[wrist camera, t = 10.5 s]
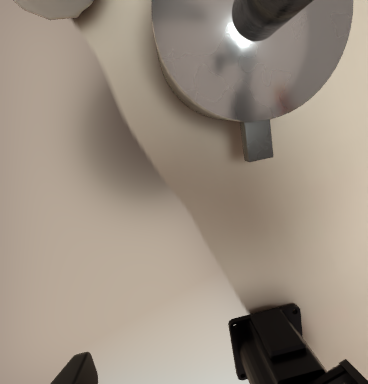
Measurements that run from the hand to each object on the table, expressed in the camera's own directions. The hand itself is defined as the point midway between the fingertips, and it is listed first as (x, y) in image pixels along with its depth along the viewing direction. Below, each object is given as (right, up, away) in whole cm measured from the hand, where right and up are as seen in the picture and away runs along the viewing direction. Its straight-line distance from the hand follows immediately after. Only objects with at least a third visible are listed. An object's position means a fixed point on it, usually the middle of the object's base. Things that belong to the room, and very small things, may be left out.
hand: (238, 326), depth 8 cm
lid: (+2, +13, +6) cm, 15 cm away
